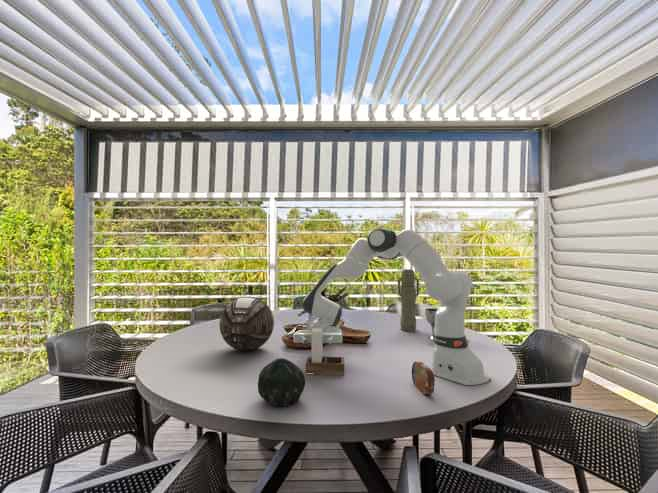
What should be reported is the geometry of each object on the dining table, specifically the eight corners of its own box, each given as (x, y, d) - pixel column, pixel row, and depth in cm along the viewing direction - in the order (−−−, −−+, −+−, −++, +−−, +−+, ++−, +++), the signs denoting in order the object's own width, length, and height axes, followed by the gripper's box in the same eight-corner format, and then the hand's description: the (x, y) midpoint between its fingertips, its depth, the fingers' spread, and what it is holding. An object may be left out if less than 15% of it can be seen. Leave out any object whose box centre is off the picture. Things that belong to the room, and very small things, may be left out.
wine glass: (442, 339, 187) (442, 311, 187) (427, 339, 187) (427, 311, 187) (438, 336, 195) (438, 308, 195) (423, 335, 195) (423, 308, 195)
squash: (287, 370, 127) (266, 344, 118) (320, 382, 117) (299, 355, 109) (263, 407, 119) (239, 382, 111) (296, 423, 109) (272, 397, 101)
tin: (410, 381, 131) (410, 358, 131) (419, 381, 131) (419, 357, 131) (427, 399, 116) (427, 373, 116) (436, 398, 116) (436, 372, 116)
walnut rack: (307, 366, 147) (307, 356, 147) (344, 366, 146) (344, 356, 146) (305, 374, 138) (305, 363, 138) (344, 374, 137) (344, 364, 137)
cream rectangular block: (312, 365, 144) (312, 328, 144) (322, 365, 144) (322, 328, 144) (311, 369, 140) (311, 331, 139) (321, 370, 139) (321, 331, 139)
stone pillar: (396, 328, 212) (396, 269, 212) (415, 327, 214) (415, 269, 213) (400, 332, 204) (400, 270, 203) (420, 331, 205) (420, 270, 205)
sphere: (279, 343, 181) (279, 293, 181) (265, 359, 156) (265, 301, 156) (231, 341, 183) (231, 292, 183) (210, 357, 158) (210, 300, 158)
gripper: (295, 325, 155) (290, 333, 141) (342, 325, 154) (342, 333, 141) (295, 340, 155) (290, 349, 141) (342, 340, 154) (342, 350, 141)
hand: (316, 341), depth 141 cm, fingers open, 8 cm apart
